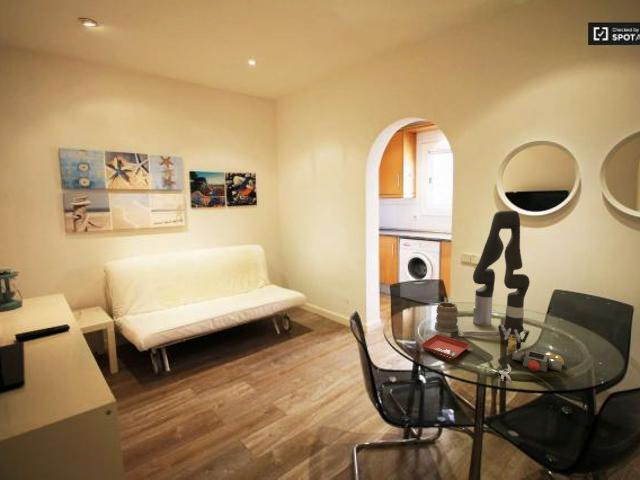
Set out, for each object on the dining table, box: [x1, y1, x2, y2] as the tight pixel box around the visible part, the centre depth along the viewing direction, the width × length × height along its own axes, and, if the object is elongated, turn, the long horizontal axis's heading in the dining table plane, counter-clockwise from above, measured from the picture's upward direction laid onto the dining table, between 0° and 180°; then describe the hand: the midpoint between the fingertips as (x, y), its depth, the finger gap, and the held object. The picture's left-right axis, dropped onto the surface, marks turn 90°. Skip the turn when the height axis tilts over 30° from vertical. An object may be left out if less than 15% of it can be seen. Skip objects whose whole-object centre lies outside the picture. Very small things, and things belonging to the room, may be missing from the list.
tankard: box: [434, 296, 459, 334], centre depth 205 cm, size 20×13×15 cm, turn 161°
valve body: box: [511, 349, 563, 373], centre depth 158 cm, size 19×13×5 cm
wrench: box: [457, 328, 507, 339], centre depth 187 cm, size 8×2×30 cm
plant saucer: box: [420, 333, 471, 359], centre depth 176 cm, size 18×18×3 cm
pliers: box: [485, 361, 512, 383], centre depth 154 cm, size 10×2×15 cm
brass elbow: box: [543, 352, 565, 367], centre depth 161 cm, size 7×4×6 cm
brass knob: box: [506, 334, 518, 354], centre depth 172 cm, size 5×5×8 cm
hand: (512, 347), depth 172 cm, fingers closed on brass knob, 4 cm apart
